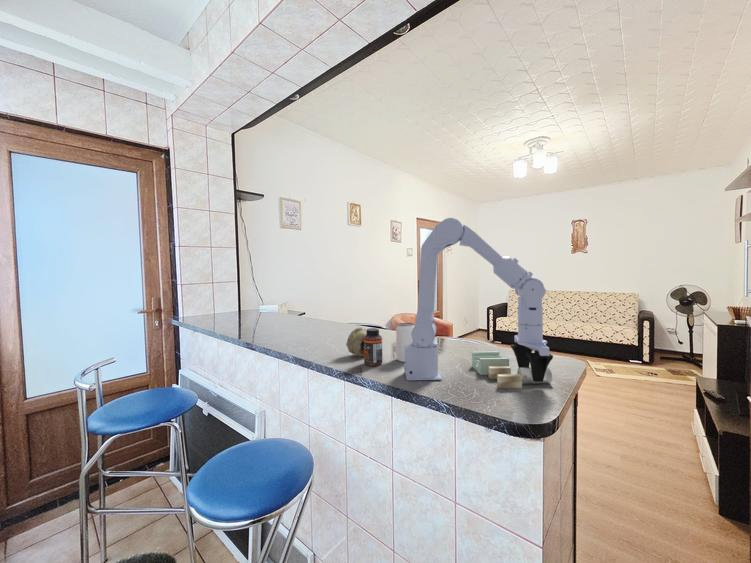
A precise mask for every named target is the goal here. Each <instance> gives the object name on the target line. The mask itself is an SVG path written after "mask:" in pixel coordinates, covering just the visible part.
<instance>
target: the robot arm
mask: <svg viewBox="0 0 751 563" xmlns="http://www.w3.org/2000/svg"><path fill="white" fill-rule="evenodd" d="M457 243H459V246H462V247H466V248H467V247H469V248H471V249H472V250H473V251H474V252H476V253H477V254H479V256H480V257H482V258H483V259H484V260H486V261H487V262H488V263H489V264H491V265H492V266H493V267H492V268H493V269H492V270H493V274H494V275H496V276H497V277H498V278H499V279H500V280H501V281H503V283H505V284H506V285H507V286H508V287H510V288H511V289H514V291H515V294H516V295H517V297H518V299H517V301H518V305H517V334H516V335H513V336H514V339H513V340H514V344H513V343H512V344H510V348H511V349H512V351H513V354H514V357H515V360H516V362H517V366H518V368H528V367H531V371H532V378H533V381H534V382H543V379H544V376H545V372H546V369H547V367H548V368H549V365H550V362H552V360H553V359H554V355H553V354H552V353H550V347H549V346H547V344H548V341H547V340H545V339H544V336H543V332H544V330H543V325H544V324H543V315H544V314H543V309H544V308H543V298H544V296H545V294H546V292H547V289H546V288H545V285H544V283H543V282H542V281H541V280H539V279H538V278H534V277H532V276H533V275H534V274H533V272H531V271H527V269H525V268H524V267H523V266H521V265H520V264H519V260H518V259H517V258H516V257H514V258H512V257H511V256H502V255H500V254H499V253H498V251H497V250H496V249H494V248H493V247H492V246H491V245H489V244H488V243H487V242H486V241H485V240H484V239H483V238H482V237H481V236H480V235H479V234H477V232H475V231H474V230H473V229H472V228H470V227H469V226H468V225H466V224H464V223H463V224H462V222H461V221H460V220H459V219H457V218H455V217H448V218H445V219H443V220H441V221H440V222H439V223H437V224H435V226H434V228H433V229H432V231H431V232H430V234H429V235H428V236H427V238H426V239H425V241H424V242H423V243H422V245H421V249H420V263H419V264H420V265H419V280H418V297H417V311H416V316H415V322H414V328H413V329H412V333H411V336H412V339H413V341H412V344H410V345H405V362H404V364H403V371H404V374H405V378H406V380H407V381H441V380H443V378H442V376H441V374H440V372H439V344H438V341H436V340H435V338H436V334H437V331H438V330H437V325H436V322H435V302H436V301H435V300H436V287H437V286H436V285H437V270H438V269H437V267H438V255H439V254H441V253H442V252H443V251H444V250H445V249H446V248H449V247H451V246H454V245H456V244H457Z"/></svg>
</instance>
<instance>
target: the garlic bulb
mask: <svg viewBox="0 0 751 563" xmlns="http://www.w3.org/2000/svg"><path fill="white" fill-rule="evenodd" d="M366 334H367V329H366V328H362V327H360V326H359V327H356V328H355V329H353V330H352V331H351V332H350V334H348V338H347V340H346V343H345V345H346V347H347V349H348V350H347V351H348V352H349V353H351V354H352V355H355V356H357V357H360V358H361V357H362V356H363V357H364V337H365V336H366Z"/></svg>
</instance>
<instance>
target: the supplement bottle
mask: <svg viewBox="0 0 751 563" xmlns="http://www.w3.org/2000/svg"><path fill="white" fill-rule="evenodd" d="M366 331H367V334H366V336H365V337H364V356H363V362H364V365H366V366H368V367H377V366H381V365H382V364H383V337H382V336H381V335H380V329H379V328H377V327H370V328H367V329H366Z"/></svg>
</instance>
